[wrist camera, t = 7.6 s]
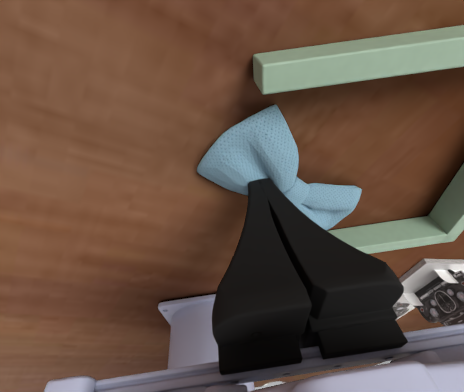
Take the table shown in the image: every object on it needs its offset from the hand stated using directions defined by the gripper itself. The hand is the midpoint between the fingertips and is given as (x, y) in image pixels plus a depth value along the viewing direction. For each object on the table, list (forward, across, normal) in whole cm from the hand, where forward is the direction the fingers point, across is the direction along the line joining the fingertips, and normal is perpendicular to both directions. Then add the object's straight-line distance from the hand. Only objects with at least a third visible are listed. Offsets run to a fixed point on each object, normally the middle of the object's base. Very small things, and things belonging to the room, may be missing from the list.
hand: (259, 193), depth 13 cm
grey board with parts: (+1, -16, +20) cm, 26 cm away
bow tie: (+1, -2, 0) cm, 2 cm away
